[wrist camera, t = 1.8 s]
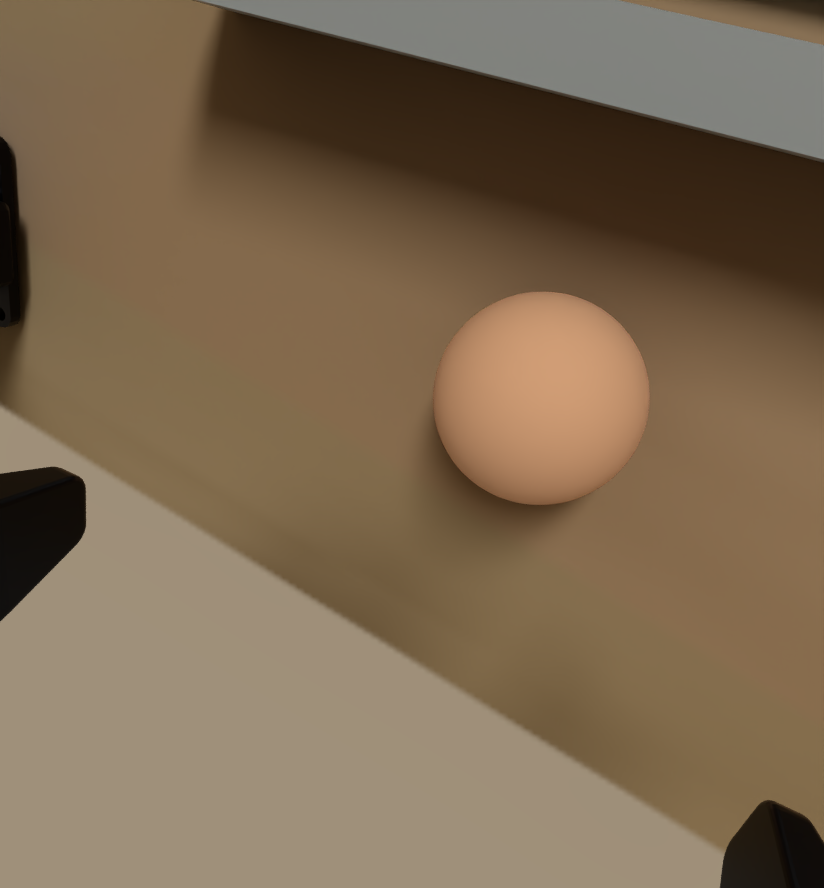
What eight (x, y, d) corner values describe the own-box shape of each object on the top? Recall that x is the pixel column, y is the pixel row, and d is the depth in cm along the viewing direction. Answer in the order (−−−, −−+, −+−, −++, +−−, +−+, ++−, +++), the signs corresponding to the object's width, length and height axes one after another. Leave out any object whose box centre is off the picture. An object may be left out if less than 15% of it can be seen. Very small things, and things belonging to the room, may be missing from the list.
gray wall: (232, 11, 18) (121, -20, 14) (238, -58, 17) (122, -108, 14) (1353, 298, 12) (1605, 358, 9) (1431, 214, 12) (1737, 245, 8)
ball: (448, 417, 20) (380, 492, 16) (496, 249, 18) (431, 284, 13) (614, 480, 19) (588, 580, 14) (688, 310, 16) (684, 369, 12)
